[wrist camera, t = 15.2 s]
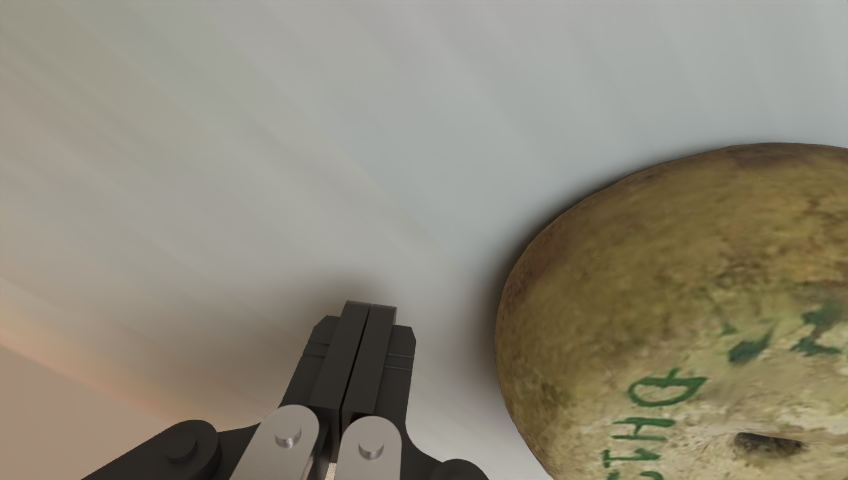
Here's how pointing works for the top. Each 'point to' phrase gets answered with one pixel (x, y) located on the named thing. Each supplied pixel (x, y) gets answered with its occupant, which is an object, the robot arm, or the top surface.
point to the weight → (688, 323)
